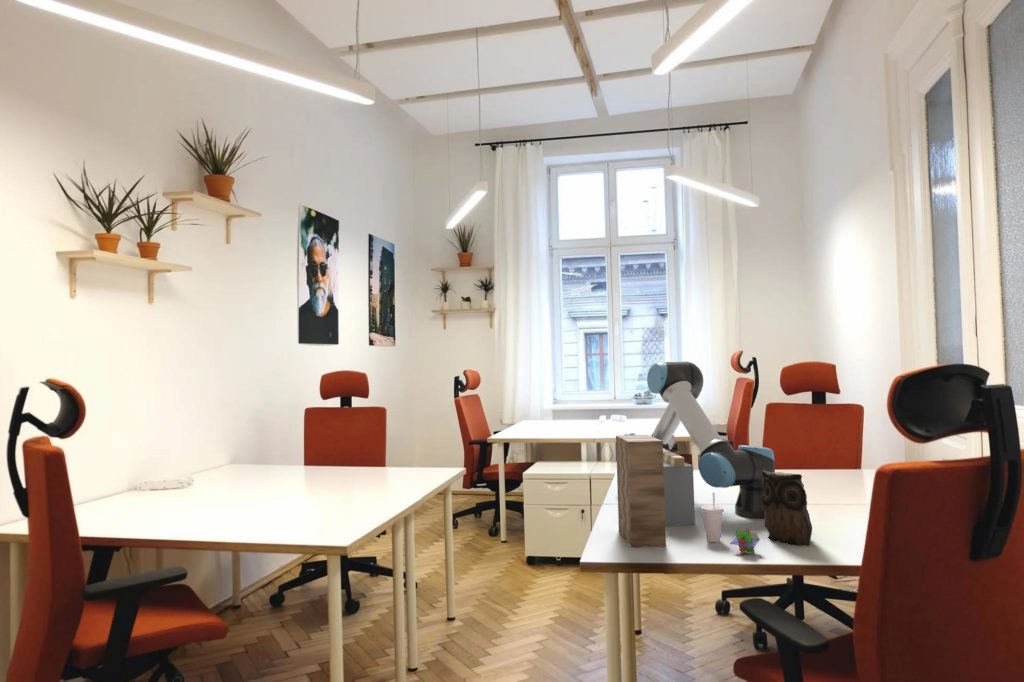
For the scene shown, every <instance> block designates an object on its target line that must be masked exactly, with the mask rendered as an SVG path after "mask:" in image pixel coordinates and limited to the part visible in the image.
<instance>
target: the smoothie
mask: <svg viewBox="0 0 1024 682" xmlns="http://www.w3.org/2000/svg"><path fill="white" fill-rule="evenodd" d="M715 497H716V496H715V492H712V505H710V504H707V505H702V506H700V507H701V508H700V511H701V512H702V519H703V525H704V532H705V536H706V537H705V538H706V541H707V542H709V543H719V541H720V542H721V536H722V535H721V533H722V532H721V531H722V523H723V522H722V521H723V512H724V507H723V506H720V505H716V499H715Z"/></svg>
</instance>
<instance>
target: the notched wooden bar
mask: <svg viewBox="0 0 1024 682" xmlns="http://www.w3.org/2000/svg"><path fill="white" fill-rule="evenodd" d="M663 461H664V462H666V463H668V464H670V465H672V466H674V467H685V462H686V461H685V457H684V456H681V455H679V454H677V453H676V452H674V453H673V452H670V451H668V450H666V449H663Z"/></svg>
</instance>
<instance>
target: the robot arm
mask: <svg viewBox="0 0 1024 682" xmlns="http://www.w3.org/2000/svg"><path fill="white" fill-rule="evenodd" d="M646 382H647V387H648V389H649V391H650V392H651V393H652V394H656V395H657V394H659V395H660V397H661V398H662V400H663V401H664V402H665V403H666V404H667V403H668V404H667V406H666V408H665V410H664V412H663V414H662V415H661V417H660V418H659V421H658V423H657V425H656V427H655V428H654V431H653V432H652V434H651V435H650V436H652V437H654V438H657V439H659V440H662V441H663V449H666V450H668V451H670V452H673V453H676V452H678V451H679V448H678V443H676V439H675V435H674V434H675V432H676V431H677V429H678V427H679V426H680V423H681V424H682V425H683V427H685V430H686V431H687V433H688V435H689V436H690V438H691V439H692V441H693V443H694V444H695V446H696V448H697V449H698V451H699V452H700V453H699V456H698V459H699V461H698V468H699V470H698V471H699V474H700V476H701V478H702V480H703V481H704V482H705V483H706V484H707V485H709V486H711V487H712V488H722V489H725V488H730V487H737V486H739V492H738V494H737V498H736V501H735V505H734V513H735V514H736V515H738V516H741V515H742V517H747V518H753V517H754V518H755V519H765V507H764V505H763V503H762V495H763V474H762V471H763V470H765V471H767V472H774V473H776V470H775V469H776V468H775V464H776V462H775V461H776V460H775V454H774V451H773V449H771V448H769V447H764V446H754V445H744V444H743V445H742V444H740V445H738V447H737V450H735V449H734V447H732V445H731V443H730V442H729V441H728V440H726V439H724V440H723V439H722V438H721V436H720V435H719V433H718V431H717V429H716V428H715V427H714V426H713V424H712V423H711V420H710V419H709V418H708V416H707V415H706V413H705V412H704V410H703V408H702V407H701V405H700V404H699V402H698V400H697V399H698V398H699V396H700V394H701V392H702V390H703V387H704V375H703V373H702V371H701V369H700V367H699V366H698V365H696V364H695V363H693V362H691V361H661V362H654V363H653V364H651V366H650V368H649V369H648V372H647V377H646ZM624 435H637V434H635V433H634V432H628V433H625V434H624Z"/></svg>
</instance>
